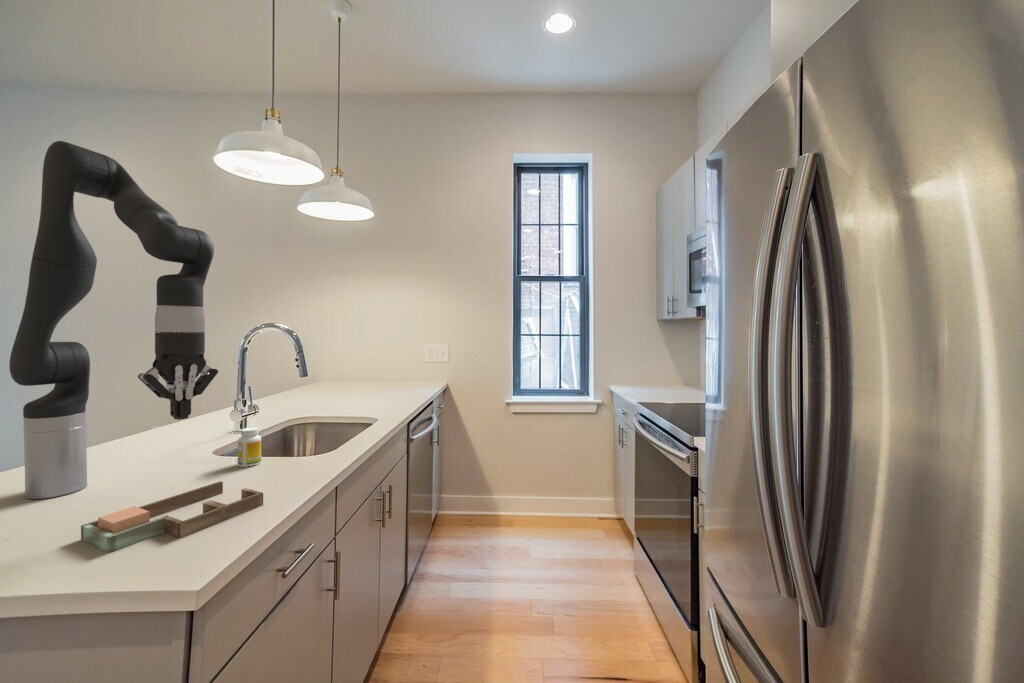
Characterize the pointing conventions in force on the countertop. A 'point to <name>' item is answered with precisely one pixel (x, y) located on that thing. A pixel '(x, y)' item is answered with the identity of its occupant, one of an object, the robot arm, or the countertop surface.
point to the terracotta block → (123, 519)
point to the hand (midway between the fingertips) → (180, 418)
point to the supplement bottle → (249, 447)
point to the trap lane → (178, 528)
